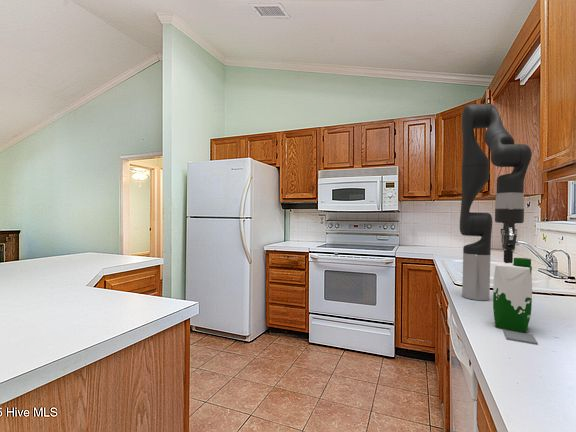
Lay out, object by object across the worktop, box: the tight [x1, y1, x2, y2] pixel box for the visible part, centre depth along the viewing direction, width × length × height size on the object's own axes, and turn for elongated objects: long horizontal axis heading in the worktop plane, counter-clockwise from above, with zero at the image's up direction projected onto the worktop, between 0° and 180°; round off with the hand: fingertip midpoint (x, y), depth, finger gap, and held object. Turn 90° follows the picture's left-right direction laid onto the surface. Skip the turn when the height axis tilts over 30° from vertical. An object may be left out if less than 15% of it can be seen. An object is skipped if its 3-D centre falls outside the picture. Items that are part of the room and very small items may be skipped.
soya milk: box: [492, 257, 533, 334], centre depth 92 cm, size 9×9×20 cm
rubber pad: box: [503, 329, 539, 345], centre depth 84 cm, size 6×6×1 cm
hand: (508, 262), depth 100 cm, fingers closed
